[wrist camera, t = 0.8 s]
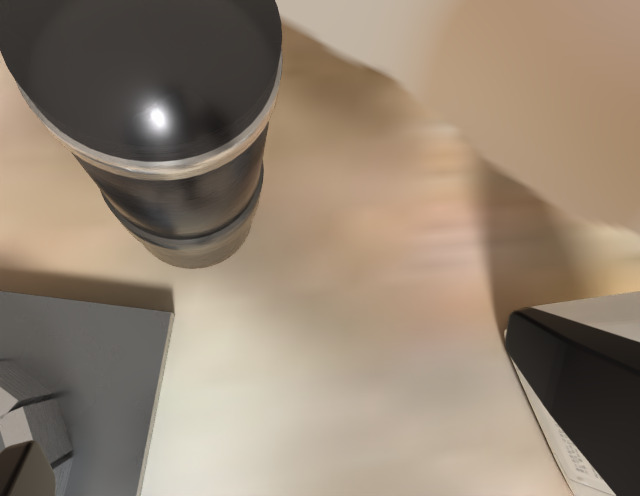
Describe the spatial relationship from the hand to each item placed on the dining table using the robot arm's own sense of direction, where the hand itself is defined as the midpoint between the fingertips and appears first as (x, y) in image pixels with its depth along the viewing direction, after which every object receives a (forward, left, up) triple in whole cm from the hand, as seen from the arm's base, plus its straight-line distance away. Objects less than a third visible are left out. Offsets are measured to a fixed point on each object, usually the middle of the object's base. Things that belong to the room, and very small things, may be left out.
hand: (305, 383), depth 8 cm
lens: (+7, +4, -13) cm, 15 cm away
